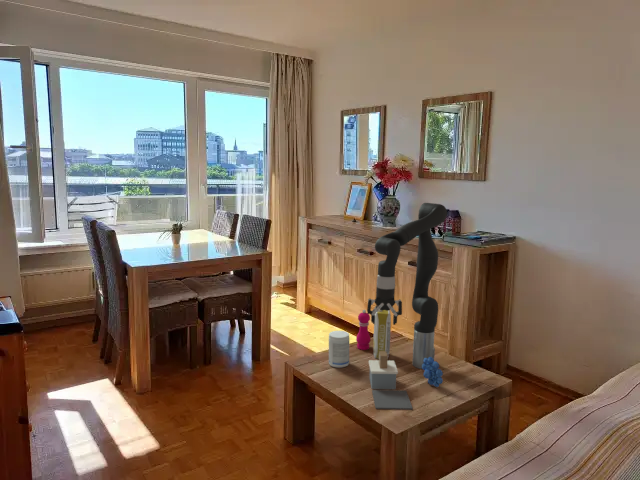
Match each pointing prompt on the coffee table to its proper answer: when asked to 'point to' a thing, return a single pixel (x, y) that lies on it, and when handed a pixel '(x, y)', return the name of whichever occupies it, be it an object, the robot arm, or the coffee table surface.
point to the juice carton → (382, 332)
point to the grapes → (432, 371)
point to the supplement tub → (338, 349)
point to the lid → (382, 365)
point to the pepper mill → (363, 331)
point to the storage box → (382, 381)
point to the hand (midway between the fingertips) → (383, 323)
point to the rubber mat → (391, 399)
